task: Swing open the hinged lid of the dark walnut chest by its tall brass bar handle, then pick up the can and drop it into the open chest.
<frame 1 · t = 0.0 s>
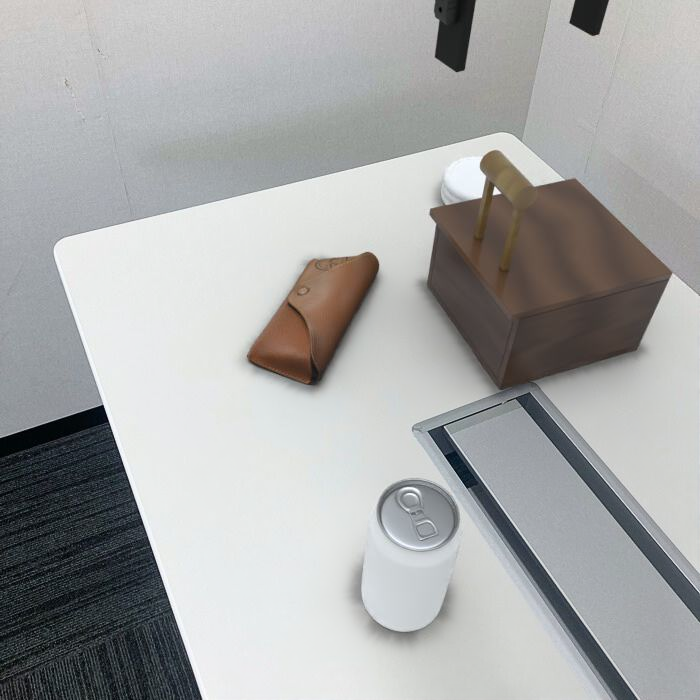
hand: (519, 46, 58), 31 cm above the table, tool pointing down, fingers open, 13 cm apart
can: (401, 595, 59), on the table
sunglasses case: (315, 319, 80), on the table
chest: (528, 316, 82), on the table
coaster: (478, 201, 97), on the table
lid: (557, 202, 71), point 15 cm above the table, hinge at 0.0°
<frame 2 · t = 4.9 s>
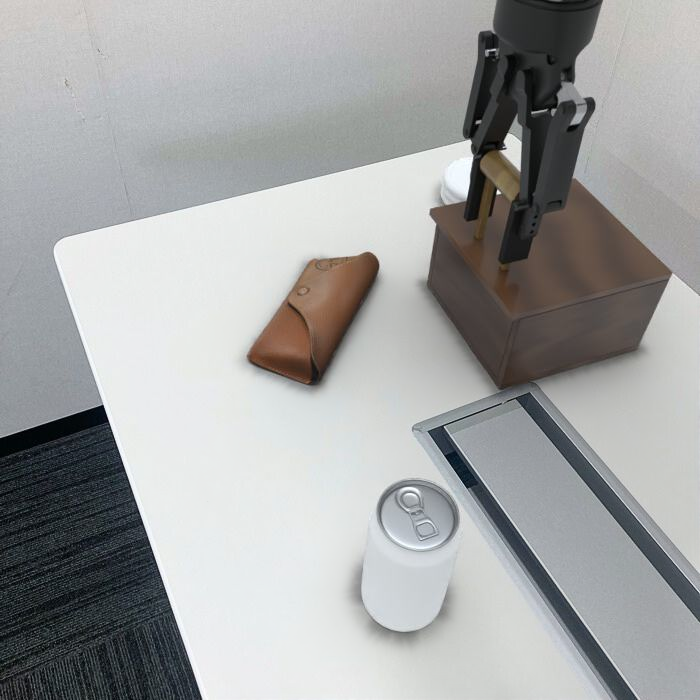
hand: (494, 237, 71), 12 cm above the table, tool pointing down, fingers closed on lid, 6 cm apart
lid: (557, 202, 71), point 15 cm above the table, hinge at 0.0°, touching gripper
everything else where it was.
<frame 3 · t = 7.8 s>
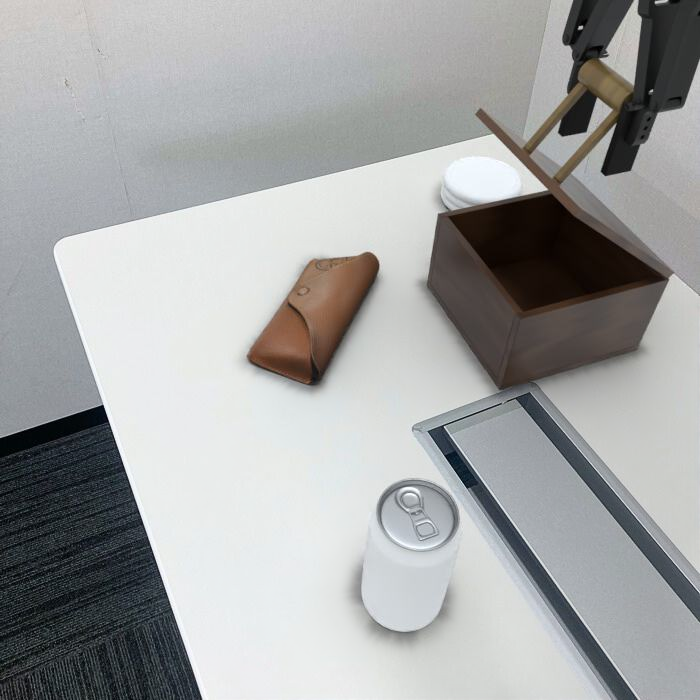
hand: (593, 150, 68), 20 cm above the table, tool pointing down, fingers closed on lid, 6 cm apart
lid: (612, 154, 69), point 19 cm above the table, hinge at 37.2°, touching gripper
everything else where it was.
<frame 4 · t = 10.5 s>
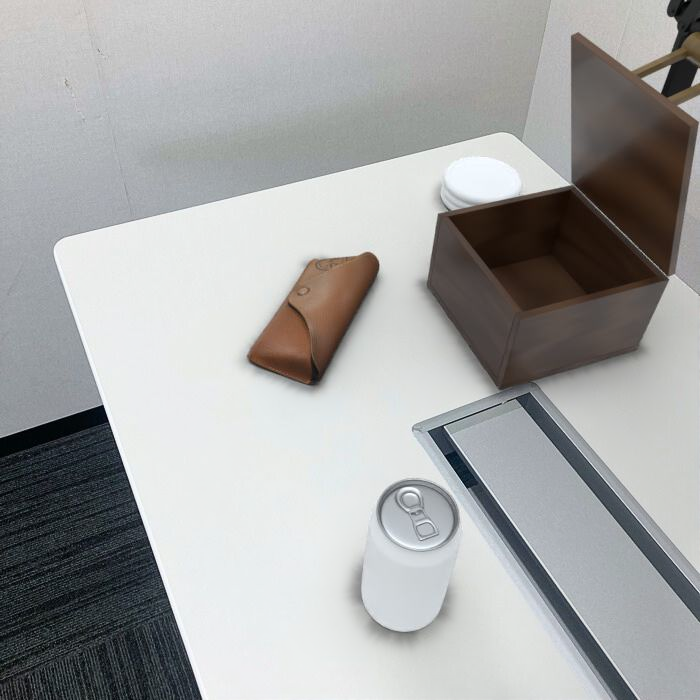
hand: (695, 120, 70), 21 cm above the table, tool pointing down, fingers open, 6 cm apart
lid: (668, 136, 70), point 20 cm above the table, hinge at 73.0°
everything else where it was.
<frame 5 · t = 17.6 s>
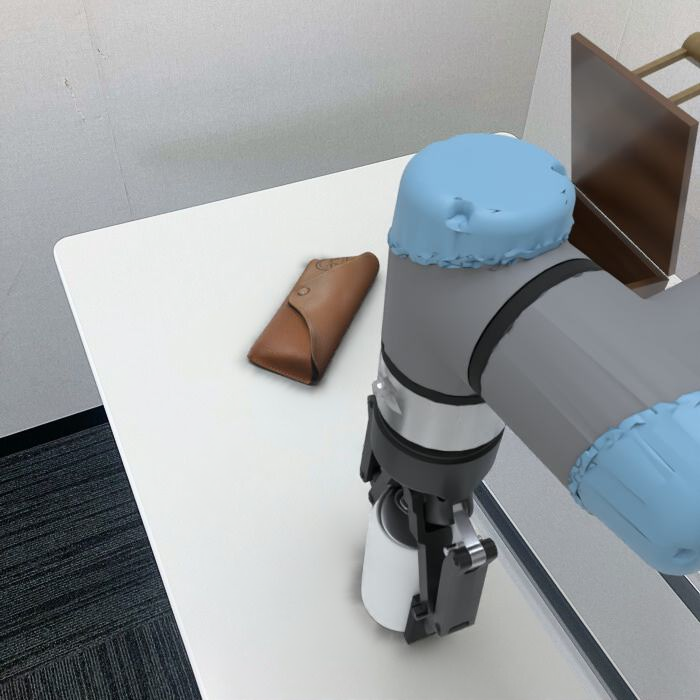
hand: (402, 590, 59), 1 cm above the table, tool pointing down, fingers closed on can, 6 cm apart
can: (401, 595, 59), on the table, touching gripper
everything else where it was.
when the fingers open (5 cm above the table, at t = 27.3 s): can drops 4 cm, resting on chest.
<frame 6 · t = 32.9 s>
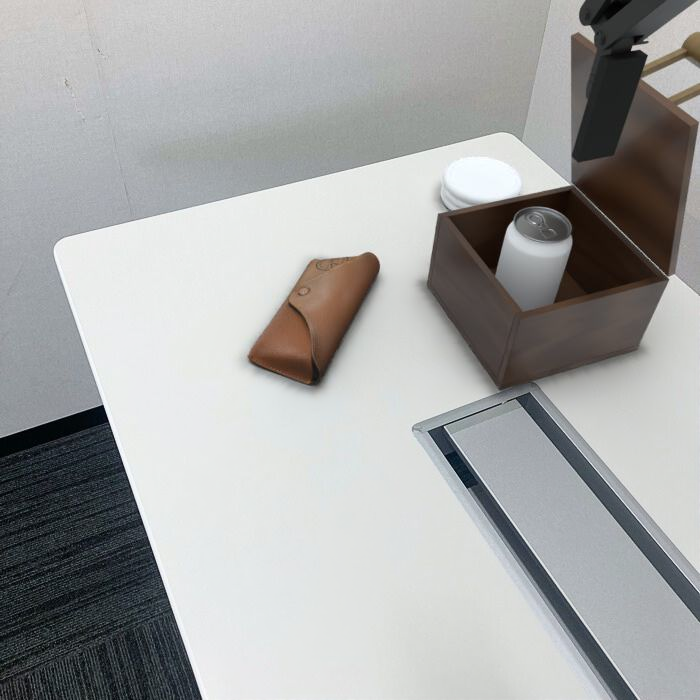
hand: (660, 218, 43), 31 cm above the table, tool pointing down, fingers open, 13 cm apart
can: (517, 315, 81), point 1 cm above the table, touching chest
everything else where it was.
at the end: lid at +73° (first picture: +0°); can inside the target area in the chest (1.6 cm from its centre), point 0.6 cm above the chest's base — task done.
